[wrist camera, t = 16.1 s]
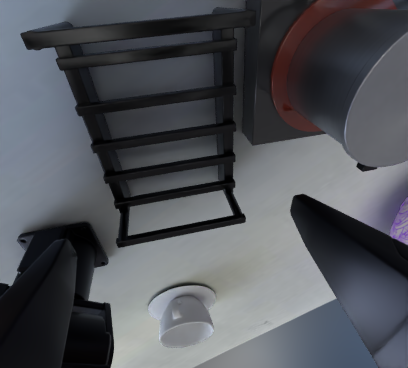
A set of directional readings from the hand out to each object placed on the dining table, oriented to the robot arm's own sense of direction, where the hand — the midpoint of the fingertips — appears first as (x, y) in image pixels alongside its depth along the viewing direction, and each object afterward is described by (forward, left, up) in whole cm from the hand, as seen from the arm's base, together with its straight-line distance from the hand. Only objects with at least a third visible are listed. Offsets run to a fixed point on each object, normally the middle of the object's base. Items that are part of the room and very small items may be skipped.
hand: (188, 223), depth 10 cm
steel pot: (+3, -12, -9) cm, 15 cm away
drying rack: (0, 0, -12) cm, 12 cm away
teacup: (-28, +2, -12) cm, 31 cm away
